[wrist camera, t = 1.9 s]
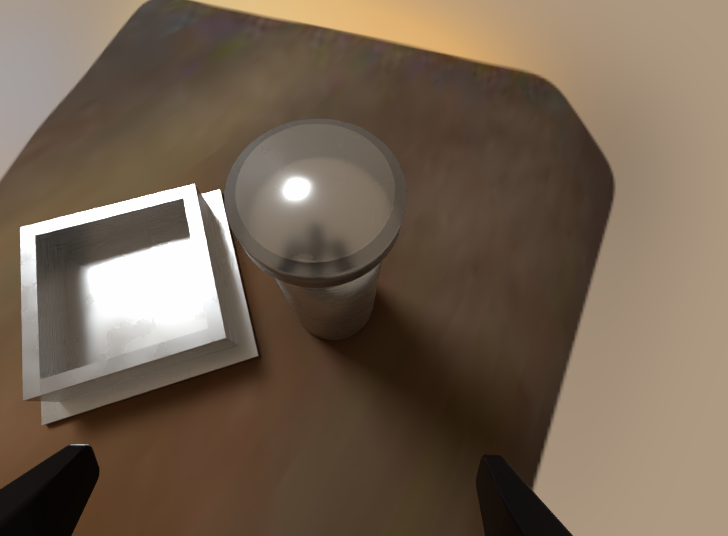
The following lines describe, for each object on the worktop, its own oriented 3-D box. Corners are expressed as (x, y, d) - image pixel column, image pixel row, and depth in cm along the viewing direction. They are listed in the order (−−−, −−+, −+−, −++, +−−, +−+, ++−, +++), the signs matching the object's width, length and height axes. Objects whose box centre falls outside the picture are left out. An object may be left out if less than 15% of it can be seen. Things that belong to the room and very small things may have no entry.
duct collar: (259, 356, 23) (247, 349, 20) (46, 424, 21) (2, 426, 18) (221, 192, 27) (206, 167, 24) (39, 238, 25) (2, 218, 22)
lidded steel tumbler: (397, 292, 24) (442, 172, 12) (342, 366, 23) (330, 312, 10) (327, 242, 25) (304, 88, 13) (269, 309, 24) (182, 201, 12)
